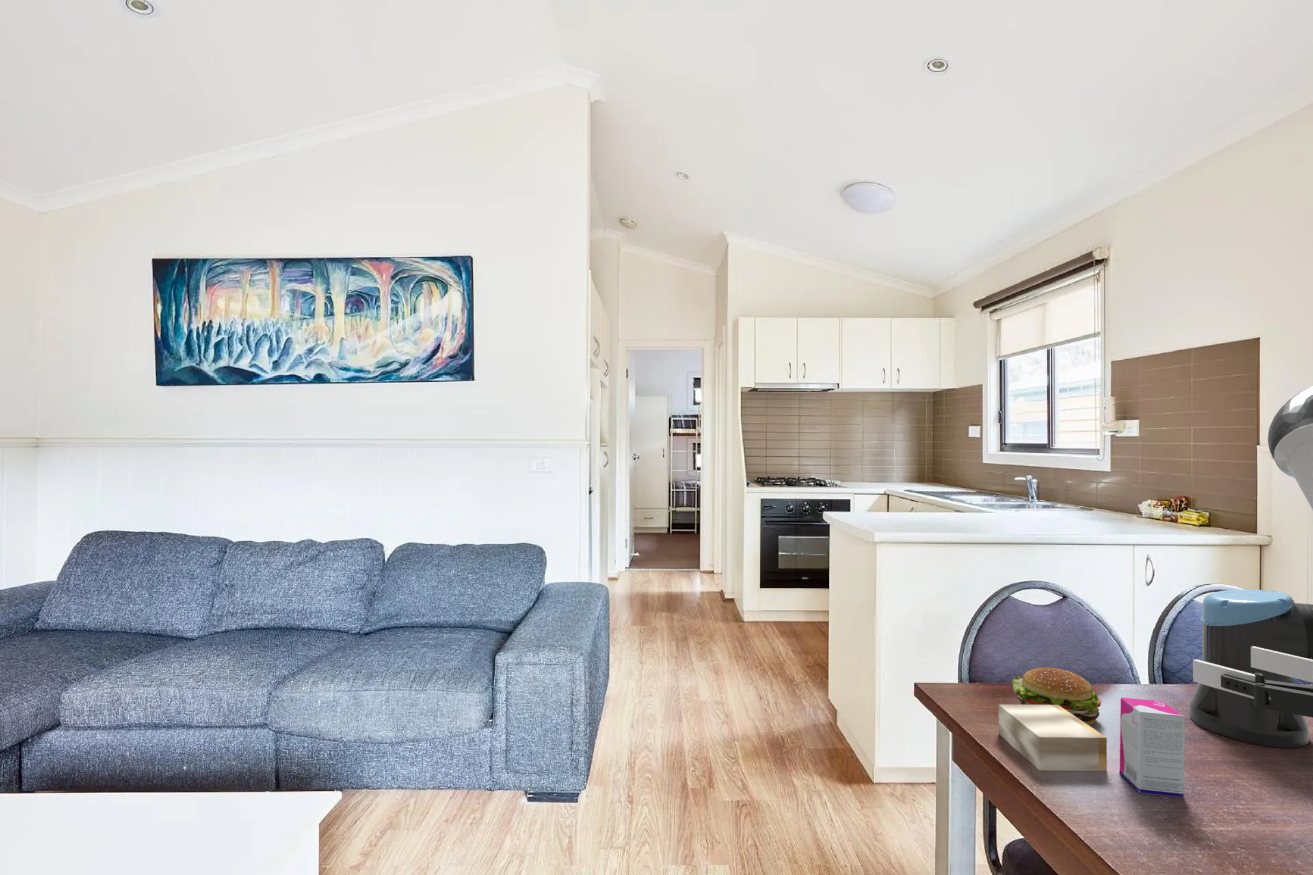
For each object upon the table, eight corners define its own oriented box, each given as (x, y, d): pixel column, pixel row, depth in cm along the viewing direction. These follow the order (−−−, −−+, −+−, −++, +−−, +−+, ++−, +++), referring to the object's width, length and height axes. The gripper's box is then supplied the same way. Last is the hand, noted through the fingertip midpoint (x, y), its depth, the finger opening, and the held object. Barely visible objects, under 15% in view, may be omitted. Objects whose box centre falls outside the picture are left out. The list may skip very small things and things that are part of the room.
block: (1106, 770, 97) (1106, 737, 97) (1039, 770, 97) (1039, 737, 97) (1058, 734, 109) (1058, 704, 109) (998, 734, 109) (998, 704, 109)
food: (1021, 693, 127) (1021, 652, 127) (1107, 714, 117) (1107, 670, 117) (999, 714, 117) (999, 670, 117) (1091, 739, 107) (1091, 691, 107)
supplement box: (1186, 798, 89) (1186, 715, 89) (1138, 793, 91) (1138, 712, 91) (1163, 777, 95) (1162, 699, 95) (1117, 772, 96) (1117, 696, 96)
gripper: (1425, 791, 60) (1168, 707, 80) (1523, 742, 70) (1274, 678, 90) (1424, 710, 60) (1168, 646, 80) (1522, 673, 70) (1274, 624, 90)
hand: (1223, 663), depth 85 cm, fingers open, 13 cm apart
